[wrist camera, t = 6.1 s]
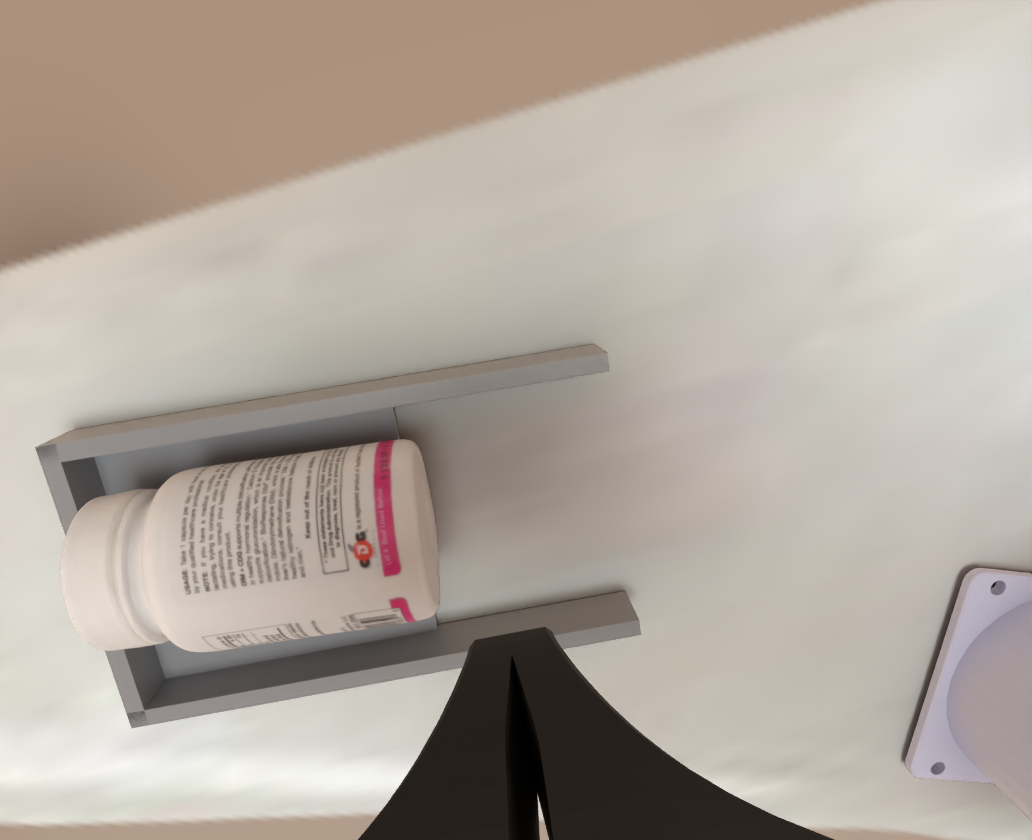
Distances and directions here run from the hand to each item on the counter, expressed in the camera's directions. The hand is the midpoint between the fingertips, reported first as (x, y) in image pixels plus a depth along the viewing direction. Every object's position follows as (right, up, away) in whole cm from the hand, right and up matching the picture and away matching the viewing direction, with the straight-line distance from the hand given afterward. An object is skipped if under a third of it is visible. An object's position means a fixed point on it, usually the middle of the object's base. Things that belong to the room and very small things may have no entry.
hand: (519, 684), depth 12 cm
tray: (-5, +1, +9) cm, 10 cm away
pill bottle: (-2, +2, +7) cm, 7 cm away
